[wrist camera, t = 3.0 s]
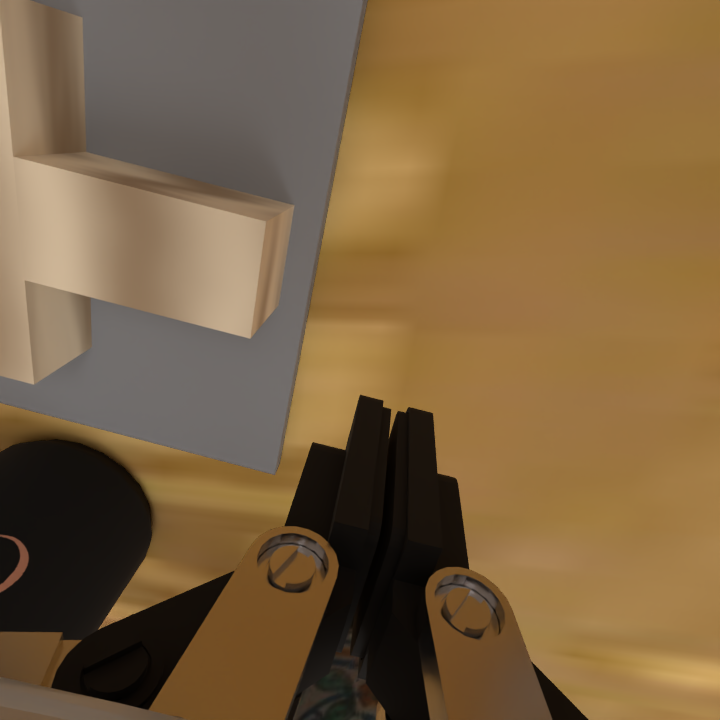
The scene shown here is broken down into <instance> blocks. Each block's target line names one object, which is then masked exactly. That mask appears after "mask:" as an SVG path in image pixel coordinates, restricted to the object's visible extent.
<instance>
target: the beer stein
mask: <svg viewBox="0 0 720 720" xmlns="http://www.w3.org/2000/svg"><path fill="white" fill-rule="evenodd" d="M353 621H354V617H353V620H352V623H351V626H350V629H349V632H348V635H347V638H346V641H345V644H344V647H343V650H342V652H341V653H339V652H336V653H335V656H334V660H333V663H332V666H331V669H330V672H329V674H328V675H326V676H325V677H323V678H322V679H320V680H319V681H317V682H316V683H314V684H313V685H311V686H310V687H308V688H307V689H305V690H304V691H303V694H302V698H301V701H300V704H299V706H298V709H297V712H296V715H295V718H294V720H376V710H377V704H378V700H377V699H376V697H375V696H374V694H373V693H372V691H371V690H370V689H369V687H368V686H367V684H366V683H365V682H366V680H364V679H360V678H357V677H358V667H359V657H355V656H351V655H350V645H351V637H352V629H353Z"/></svg>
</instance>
